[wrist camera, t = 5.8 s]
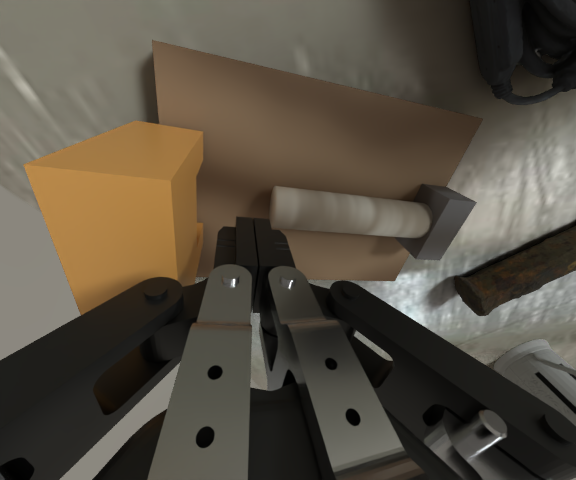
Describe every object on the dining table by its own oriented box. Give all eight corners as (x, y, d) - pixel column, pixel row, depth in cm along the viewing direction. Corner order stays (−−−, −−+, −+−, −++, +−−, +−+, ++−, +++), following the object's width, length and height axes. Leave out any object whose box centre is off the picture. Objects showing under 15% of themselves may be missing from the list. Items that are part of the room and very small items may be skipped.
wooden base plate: (161, 44, 11) (128, 28, 8) (463, 115, 16) (525, 125, 12) (176, 263, 18) (162, 304, 15) (385, 270, 22) (412, 303, 19)
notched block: (135, 120, 11) (23, 164, 5) (203, 131, 12) (170, 180, 6) (151, 239, 15) (93, 346, 9) (203, 242, 15) (182, 342, 9)
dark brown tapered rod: (451, 295, 27) (487, 330, 23) (449, 273, 25) (488, 308, 21) (627, 214, 25) (699, 239, 21) (642, 182, 23) (726, 203, 19)
